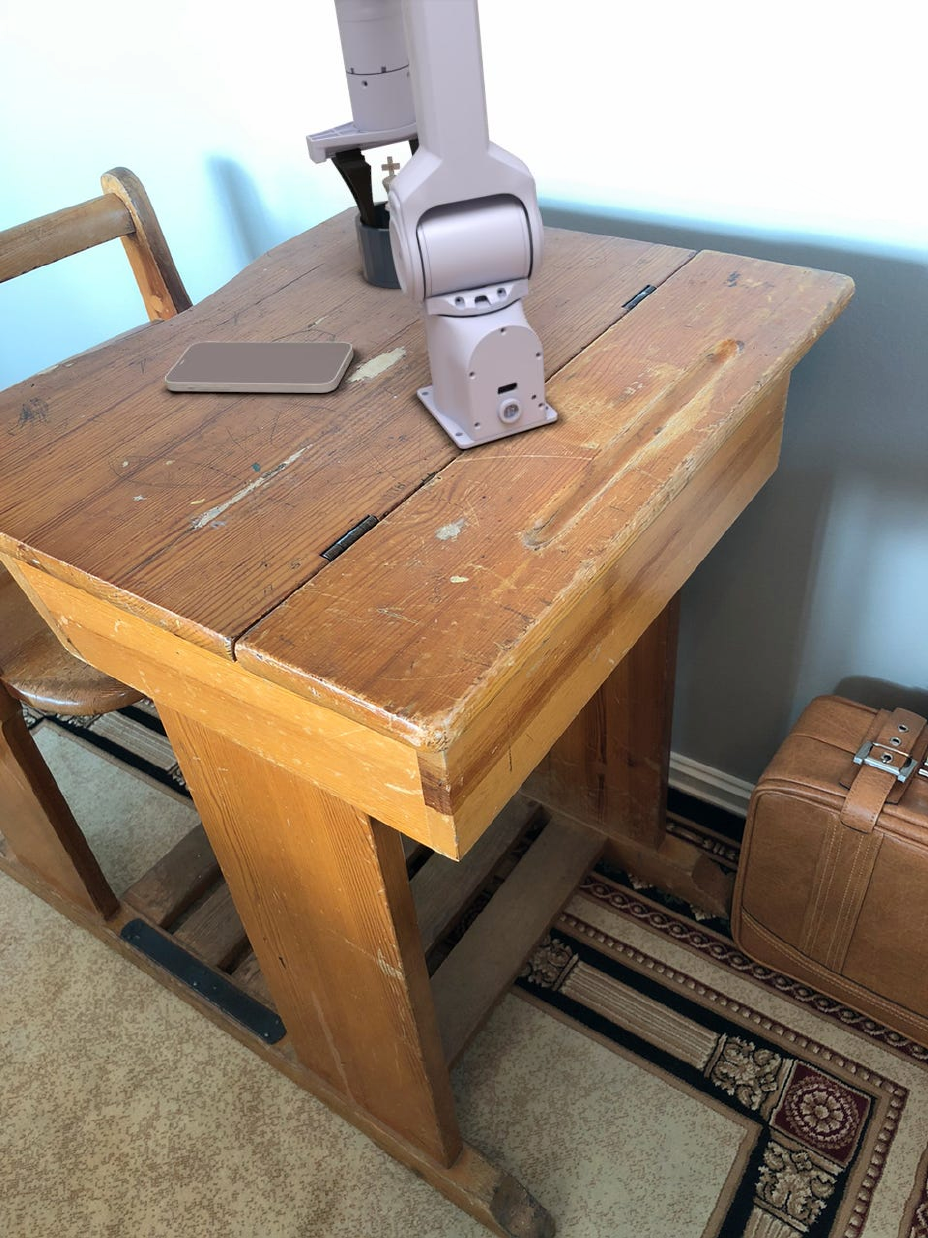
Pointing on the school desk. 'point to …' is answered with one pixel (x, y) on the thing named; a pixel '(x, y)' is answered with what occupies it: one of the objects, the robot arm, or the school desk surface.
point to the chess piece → (388, 180)
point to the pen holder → (377, 249)
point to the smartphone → (261, 367)
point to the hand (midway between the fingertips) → (399, 224)
